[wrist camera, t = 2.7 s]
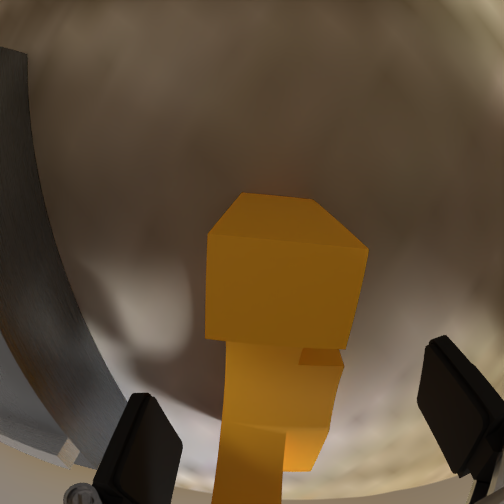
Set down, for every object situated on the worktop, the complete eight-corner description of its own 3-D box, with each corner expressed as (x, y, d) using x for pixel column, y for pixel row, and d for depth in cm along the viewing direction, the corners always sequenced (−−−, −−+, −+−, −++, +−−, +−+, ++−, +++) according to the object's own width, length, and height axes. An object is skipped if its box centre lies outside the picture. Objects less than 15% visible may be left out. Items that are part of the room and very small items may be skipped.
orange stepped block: (306, 425, 14) (314, 525, 8) (227, 420, 14) (211, 521, 8) (357, 204, 11) (451, 258, 4) (242, 191, 11) (207, 234, 5)
